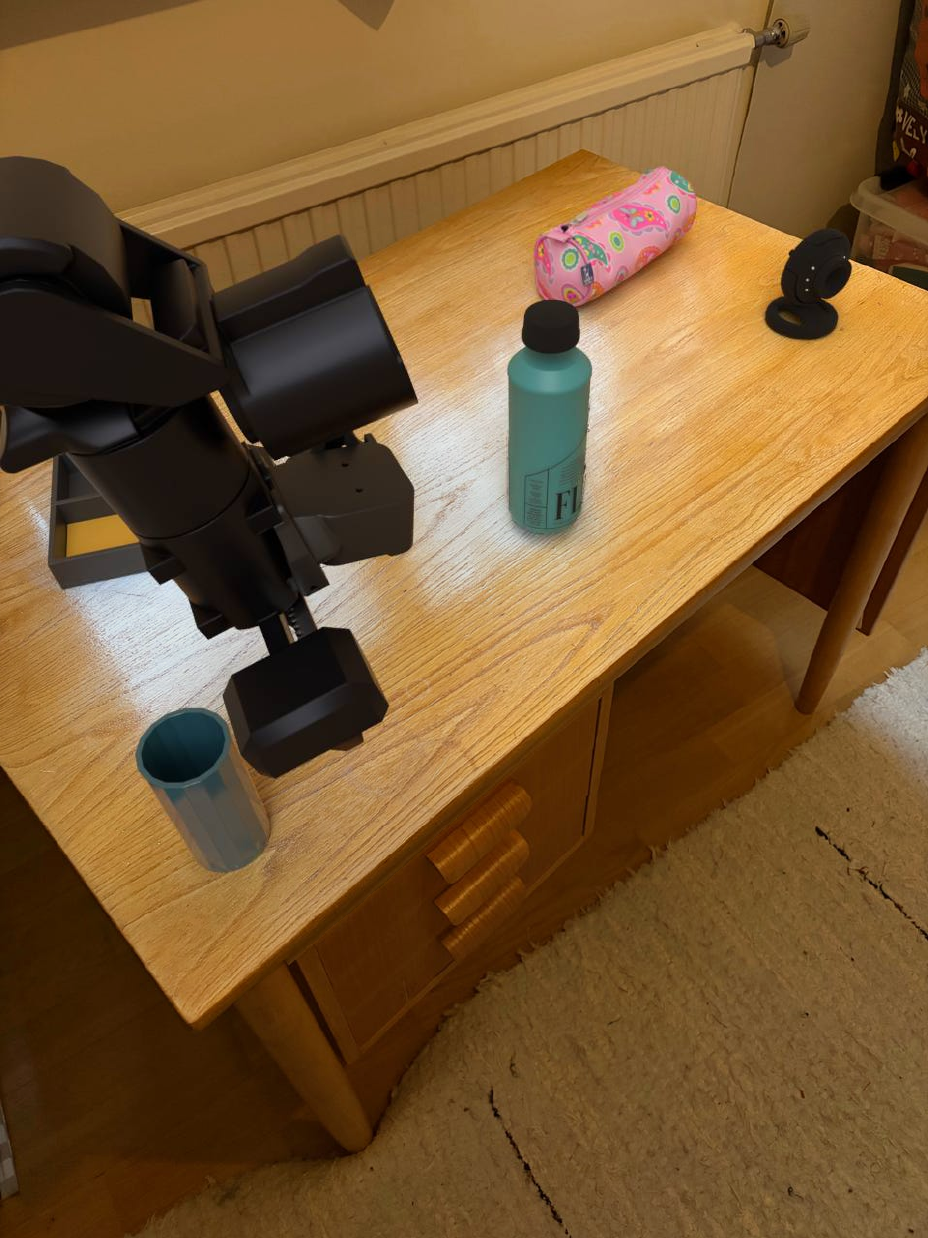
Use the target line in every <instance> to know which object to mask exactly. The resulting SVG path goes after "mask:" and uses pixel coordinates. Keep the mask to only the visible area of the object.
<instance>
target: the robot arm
mask: <svg viewBox="0 0 928 1238" xmlns="http://www.w3.org/2000/svg"><path fill="white" fill-rule="evenodd" d="M210 279H211V278H210V275H209V269H208V266H207V264H206V262H205V261H203V260H202V259H201V258H199V257H196V256H195V255H192V254H191V253H189V252H186V251H184V250H182V249H180V248H179V247H176V246H175V245H173V244H171V243H168V242H166V241H165V240H163V239H161V238H160V237H157V236H155V235H153V234H150V233H149V232H147V231H145V230H143V229H141V228H139V227H137V226H135V225H133V224H131V223H129V222H127V221H125V220H123V219H121V218H119V217H117V216H116V215H115V214H114V212H113V211H112V210H111V208H110V207H109V206H108V205H107V203H106V202H105V201H104V200H103V198H102V196H101V195H100V194H99V193H97V192H96V191H95V190H94V189H92V188H91V187H89V185H87V184H86V183H84V182H83V181H82V180H81V179H79V178H78V177H77V176H75V175H74V174H73V173H72V172H71V171H70V169H69V168H67V167H65V166H63V165H61V164H57V163H55V162H53V161H49V160H47V159H44V158H36V157H30V156H22V155H12V156H5V157H4V156H2V157H0V407H2V411H1V422H0V470H1V471H3V472H4V473H5V474H9V475H15V474H19V473H20V472H23V471H26V470H28V469H30V468H32V467H34V466H38V465H40V464H42V463H45V462H48V461H49V460H52V459H53V458H54V457H56V456H59V455H62V454H66V455H67V456H68V457H69V458H70V459H71V461H72V462H73V463H74V464H75V465H76V467H77V468H78V469H79V470H80V471H81V472H82V474H83V475H84V476H85V477H86V478H87V479H88V481H89V482H90V483H91V484H92V485H93V487H94V488H95V489H96V490H97V491H98V492H99V494H100V495H101V496H102V497H103V498H104V499H105V501H106V502H107V503H108V504H109V505H110V507H111V508H112V509H113V510H114V511H115V512H116V514H117V515H118V516H119V517H120V518H121V519H122V521H123V522H124V523H125V524H126V525H127V527H128V528H129V529H130V530H131V531H132V532H133V534H134V535H135V536H136V537H137V538H138V539H139V543H140V546H141V550H142V554H143V557H144V561H145V565H146V569H147V571H146V572H147V573H148V574H149V575H150V576H151V577H152V578H153V579H154V581H155V582H156V583H157V584H158V585H159V586H162V585H163V584H167V583H168V582H170V581H171V580H172V581H173V582H174V583H175V584H176V586H177V587H178V588H179V589H180V590H181V591H182V592H183V594H184V595H185V596H186V597H187V600H188V602H189V606H190V609H191V612H192V616H193V620H194V623H195V625H196V628H197V630H199V632H200V633H201V634H202V635H203V636H204V638H206V640H207V641H209V640H211V639H213V638H215V637H217V636H219V635H221V634H223V633H225V632H227V631H229V630H231V629H233V628H234V629H235V630H236V631H237V630H238V631H245V630H250V629H254V628H257V627H258V628H259V631H260V634H261V636H262V639H263V642H264V644H265V647H266V650H267V652H268V655H266V656H264V657H263V658H261V659H259V660H257V661H254V662H253V663H251V664H249V665H247V666H245V667H243V668H241V669H240V670H238V671H236V672H234V673H232V674H231V675H230V677H229V679H228V681H227V684H226V686H225V688H224V691H223V693H222V694H221V695H222V700H223V704H224V706H225V709H226V713H227V716H228V720H229V723H230V725H231V730H232V732H233V737H234V739H235V741H236V744H237V746H238V749H239V752H240V755H241V756H242V757H243V760H244V761H245V762H247V764H248V765H250V767H252V768H253V769H254V770H255V771H256V772H257V774H258V775H260V776H263V777H267V778H271V779H274V780H275V779H278V778H280V777H282V776H284V775H285V774H287V773H289V772H292V771H293V770H295V769H296V768H298V767H300V766H302V765H304V764H306V763H308V762H310V761H312V760H314V759H315V758H318V757H319V756H321V755H323V754H324V753H326V752H328V751H337V752H349V751H351V750H353V749H354V748H356V747H358V746H360V745H362V744H363V743H364V742H365V739H364V735H363V733H364V732H366V731H367V730H369V729H372V728H373V727H375V726H377V725H379V724H380V723H382V722H383V721H384V719H385V716H386V715H387V712H388V710H389V707H390V704H389V702H388V700H387V698H386V695H385V693H384V692H383V691H384V690H383V689H382V687H381V685H380V682H379V680H378V678H377V676H376V674H375V671H374V669H373V667H372V666H371V663H370V661H369V660H368V658H367V656H366V654H365V653H364V650H363V649H362V646H361V645H360V643H359V641H358V639H357V638H356V636H355V635H354V633H353V632H352V630H351V628H348V627H347V628H346V627H334V626H332V627H331V626H321V627H318V625H317V622H316V620H315V618H314V616H313V613H312V611H311V608H310V606H309V604H308V602H307V600H306V598H307V597H309V596H311V595H313V594H315V593H317V592H319V591H321V590H323V589H325V588H326V587H328V586H330V585H331V583H330V581H329V579H328V577H327V574H326V573H325V571H324V570H323V567H322V566H321V565H324V566H328V567H339V566H345V565H348V564H353V563H357V562H362V561H366V560H370V559H374V558H378V557H382V556H389V557H397V556H400V555H403V554H406V553H407V552H408V551H410V550H411V549H412V547H413V546H414V544H413V543H414V527H415V525H414V524H415V523H414V522H415V521H414V520H415V487H414V485H413V483H412V481H411V480H410V478H409V477H408V475H407V473H406V471H405V470H404V469H403V467H402V466H401V464H400V462H399V460H398V459H397V457H396V455H395V454H394V452H393V451H392V449H390V447H389V446H387V445H386V444H383V443H381V442H378V441H377V439H376V438H375V436H374V435H373V433H372V432H369V433H364V434H363V440H361V439H359V438H358V436H357V435H356V434H355V431H356V430H359V429H361V428H363V427H366V426H368V425H370V424H374V423H375V422H377V421H380V420H382V419H385V418H387V417H390V416H392V415H395V414H397V413H399V412H401V411H404V410H406V409H409V408H410V407H414V406H415V405H418V404H419V403H420V402H419V399H418V397H417V394H416V393H417V392H416V391H415V387H414V385H413V383H412V380H411V377H410V375H409V372H408V370H407V369H408V368H407V367H406V365H405V362H404V359H403V357H402V355H401V352H400V350H399V348H398V346H397V343H396V340H395V339H394V337H393V334H392V332H391V330H390V327H389V326H388V323H387V322H386V319H385V316H384V314H383V312H382V310H381V308H380V305H379V303H378V301H377V298H376V296H375V294H374V293H373V290H372V288H371V286H370V284H369V283H368V284H366V281H365V279H364V276H363V273H362V271H361V269H360V265H359V264H358V261H357V259H356V256H355V255H354V252H353V249H352V247H351V245H350V243H349V241H348V238H347V237H346V236H345V235H341V234H339V233H338V234H335V235H333V236H330V237H329V238H326V239H324V240H322V241H319V242H317V243H315V244H313V245H311V246H309V247H307V248H306V249H304V250H303V251H302V252H300V253H299V254H298V255H297V256H295V257H294V258H291V259H290V260H288V261H286V262H284V263H282V264H279V265H277V266H275V267H273V268H270V269H268V270H265V271H263V272H261V273H258V274H256V275H253V276H251V277H248V278H246V279H244V280H241V281H239V282H236V283H235V284H232V285H230V286H227V287H226V288H223V289H221V290H219V291H218V290H217V291H215V290H214V288H213V286H212V283H211V280H210ZM132 299H140V300H144V301H145V300H147V301H149V306H150V307H149V308H150V315H151V322H152V323H151V324H152V328H151V327H148V326H146V325H143V324H142V323H139V322H136V321H135V320H134V312H133V303H132V302H133V301H132ZM217 391H218V393H219V394H220V396H221V399H222V400H223V402H224V404H225V405H226V407H227V409H228V411H229V413H230V415H231V417H232V419H233V421H234V423H235V424H236V426H237V427H238V429H239V430H240V432H241V434H242V435H243V436H244V438H245V439H246V440H247V442H249V443H250V444H249V443H247V442H246V441H245V440H243V441H242V442H241V441H240V439H239V438H238V436H237V434H236V433H235V431H234V430H233V428H232V427H231V425H230V423H229V422H228V420H227V418H226V417H225V415H224V413H223V412H222V410H221V409H220V408H219V406H218V404H217V402H216V401H215V399H214V397H213V396H212V394H213V393H214V392H215V393H216V392H217ZM257 443H260V444H261V446H260V445H256V444H257ZM286 457H287V459H286V460H285V461H284V462H282V463H279V464H278V463H277V464H276V463H275V462H276V461H279V460H281V459H284V458H286ZM291 628H292V629H293V631H294V635H295V636H296V637H297V638H296V640H295V638H294V636H293V633H292V630H291Z"/></svg>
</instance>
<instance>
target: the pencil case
mask: <svg viewBox="0 0 928 1238" xmlns="http://www.w3.org/2000/svg"><path fill="white" fill-rule="evenodd" d="M697 208H698V199H697V195H696V191H695V188H694V187H693V185H692V184H691V182H690V181H689V180H688V179H687V178H686V177H684V176H683V175H681V174H679V173H678V172H676V171H674V170H670V169H669V168H667V167H666V166H661V165H660V166H658V167H655V168H651V169H649V170H646V171H644V172H643V173H642V174H641V175H640V176H639V177H638V179H637V181H636V183H634V184H632V185H629V186H627V187H625V188H623V189H622V190H620V191H619V192H616V193H613V194H610V195H607V196H606V197H604V198H602V199H600V200H598V201H596V202H595V203H594V204H592V205H591V206H589V207H588V208H586V209H585V210H584V211H582V212H580V213H578V214H577V215H576V216H575V217H574V218H572V219H570V221H567V222H562V223H560V224H558V225H556V226H553V227H551V228H549V229H547V230H545V231H544V232H542V233H540V235H539V236H538V237H537V239H536V240H535V242H534V246H533V247H534V248H533V260H534V261H533V263H534V278H535V285H536V287H537V291H538V292H539V294H540V295H541V297H542V298H543V300H549V299H554V300H562V301H565V302H568V303H570V304H572V305H573V306H575V307H576V308H577V307H579V306H582V305H585V304H586V303H588V302H591V301H593V300H596V299H597V298H599V297H601V296H603V294H605V293H607V292H609V291H610V290H612V289H613V288H614V287H616V286H618V285H619V284H620V283H622V282H624V281H625V280H627V279H629V278H630V277H632V276H633V275H635V274H636V273H637V272H639V271H640V270H642V268H644V267H645V266H646V265H648V264H649V263H651V262H652V261H653V260H654V259H656V258H657V257H659V255H661V254H663V253H664V252H665V251H666V250H667V249H669V248H670V247H671V246H672V245H674V244H675V243H676V242H678V241H681V240H682V239H683V238H684V237H685V236H687V234H688V233H689V232H690V231H691V229H692V227H693V226H694V224H695V220H696V216H697Z"/></svg>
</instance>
